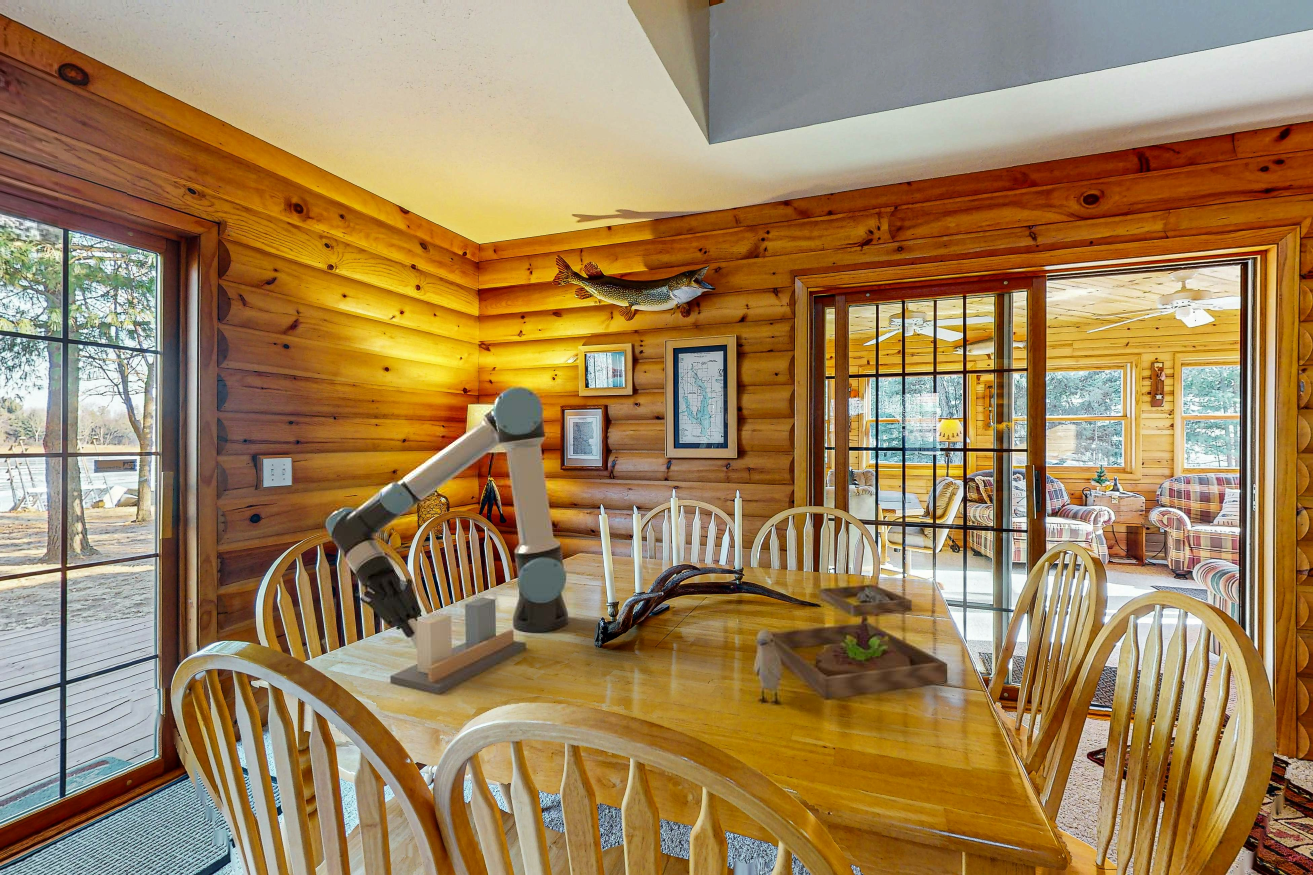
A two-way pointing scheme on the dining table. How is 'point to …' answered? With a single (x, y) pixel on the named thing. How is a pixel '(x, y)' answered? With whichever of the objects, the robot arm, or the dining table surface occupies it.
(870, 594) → the fossilized seashell
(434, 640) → the beige tall block
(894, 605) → the frame
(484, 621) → the grey tall block
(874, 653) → the plant
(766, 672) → the bird
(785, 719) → the dining table surface
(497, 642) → the grey stand base
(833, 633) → the planter frame
